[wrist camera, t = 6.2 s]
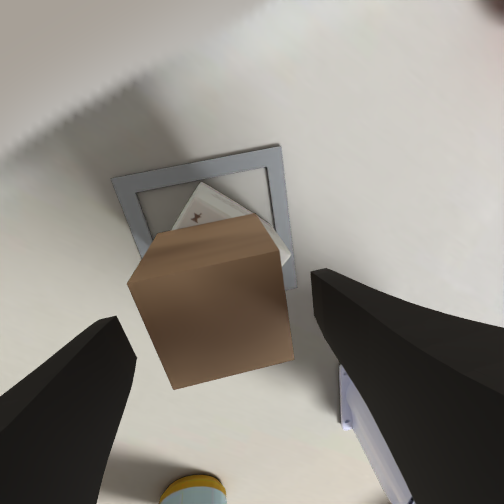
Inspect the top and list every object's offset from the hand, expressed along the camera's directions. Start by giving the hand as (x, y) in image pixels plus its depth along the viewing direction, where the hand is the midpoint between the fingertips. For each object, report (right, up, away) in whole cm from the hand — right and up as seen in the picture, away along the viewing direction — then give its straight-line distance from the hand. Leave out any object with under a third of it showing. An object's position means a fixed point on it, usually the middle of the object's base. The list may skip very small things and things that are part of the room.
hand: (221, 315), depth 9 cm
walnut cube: (-1, +2, +3) cm, 3 cm away
